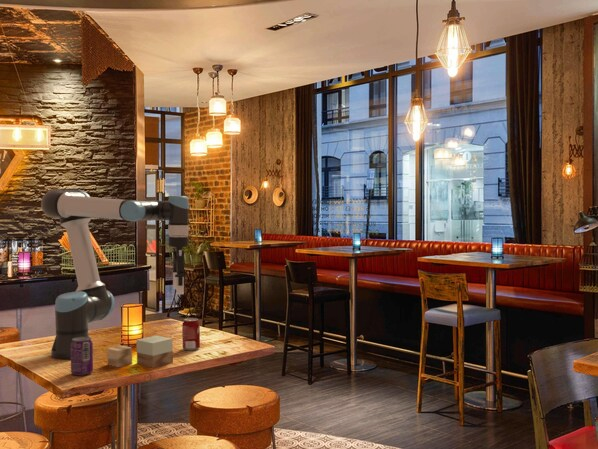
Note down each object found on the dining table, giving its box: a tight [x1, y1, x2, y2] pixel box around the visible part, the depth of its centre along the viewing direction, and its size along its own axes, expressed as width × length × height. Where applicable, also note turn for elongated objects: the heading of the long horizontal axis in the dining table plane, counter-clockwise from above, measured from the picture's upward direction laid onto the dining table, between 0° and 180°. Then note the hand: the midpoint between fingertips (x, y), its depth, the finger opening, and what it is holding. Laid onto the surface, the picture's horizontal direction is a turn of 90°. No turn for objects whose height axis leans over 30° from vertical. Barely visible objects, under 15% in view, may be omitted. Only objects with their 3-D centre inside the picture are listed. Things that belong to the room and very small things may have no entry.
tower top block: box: [136, 335, 174, 356], centre depth 225 cm, size 9×9×4 cm
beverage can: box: [70, 336, 94, 376], centre depth 212 cm, size 7×7×12 cm
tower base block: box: [136, 351, 174, 369], centre depth 226 cm, size 9×9×4 cm
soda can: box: [181, 317, 201, 352], centre depth 247 cm, size 7×7×12 cm
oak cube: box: [107, 345, 133, 368], centre depth 224 cm, size 6×6×6 cm
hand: (178, 291), depth 238 cm, fingers open, 13 cm apart
